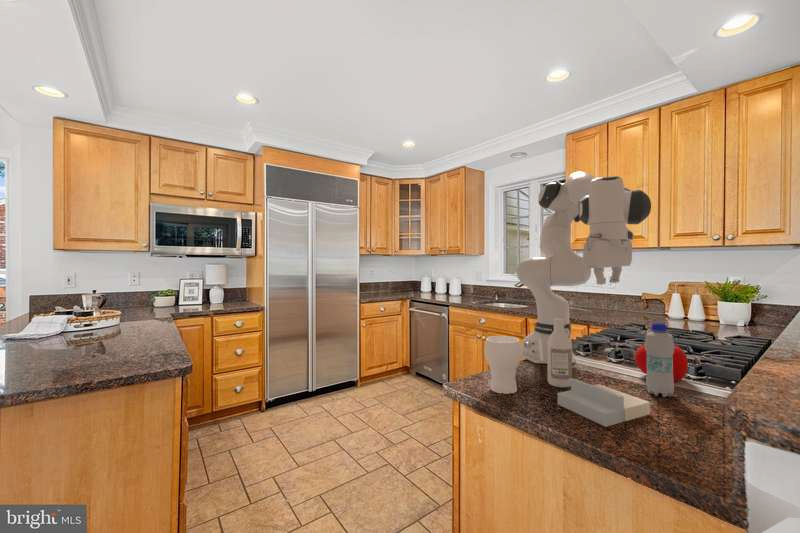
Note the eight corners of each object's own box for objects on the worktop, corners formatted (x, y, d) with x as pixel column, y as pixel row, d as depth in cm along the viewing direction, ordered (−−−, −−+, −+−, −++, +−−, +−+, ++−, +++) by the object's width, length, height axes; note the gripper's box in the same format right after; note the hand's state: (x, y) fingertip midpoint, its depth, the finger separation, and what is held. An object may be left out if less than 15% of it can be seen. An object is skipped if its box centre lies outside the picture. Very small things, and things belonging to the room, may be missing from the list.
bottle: (680, 399, 95) (679, 325, 94) (652, 398, 96) (651, 324, 96) (667, 390, 101) (666, 320, 101) (640, 389, 103) (639, 320, 102)
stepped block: (557, 404, 94) (557, 381, 94) (574, 400, 96) (574, 378, 96) (605, 426, 81) (605, 400, 81) (623, 421, 83) (623, 396, 83)
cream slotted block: (575, 400, 96) (575, 388, 96) (598, 394, 100) (598, 383, 100) (624, 421, 83) (624, 408, 83) (650, 414, 87) (650, 401, 87)
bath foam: (577, 387, 106) (576, 320, 105) (555, 388, 105) (553, 321, 105) (564, 379, 113) (563, 316, 112) (543, 380, 112) (542, 317, 111)
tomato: (669, 388, 103) (669, 349, 103) (627, 373, 116) (626, 339, 116) (700, 382, 107) (699, 345, 106) (655, 369, 120) (655, 335, 120)
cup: (477, 389, 107) (476, 339, 106) (499, 380, 113) (498, 333, 113) (508, 399, 98) (507, 345, 98) (529, 389, 105) (528, 339, 105)
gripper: (599, 232, 91) (600, 286, 91) (636, 233, 102) (637, 281, 102) (575, 234, 96) (576, 285, 96) (613, 235, 107) (614, 281, 108)
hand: (608, 283), depth 99 cm, fingers open, 6 cm apart
